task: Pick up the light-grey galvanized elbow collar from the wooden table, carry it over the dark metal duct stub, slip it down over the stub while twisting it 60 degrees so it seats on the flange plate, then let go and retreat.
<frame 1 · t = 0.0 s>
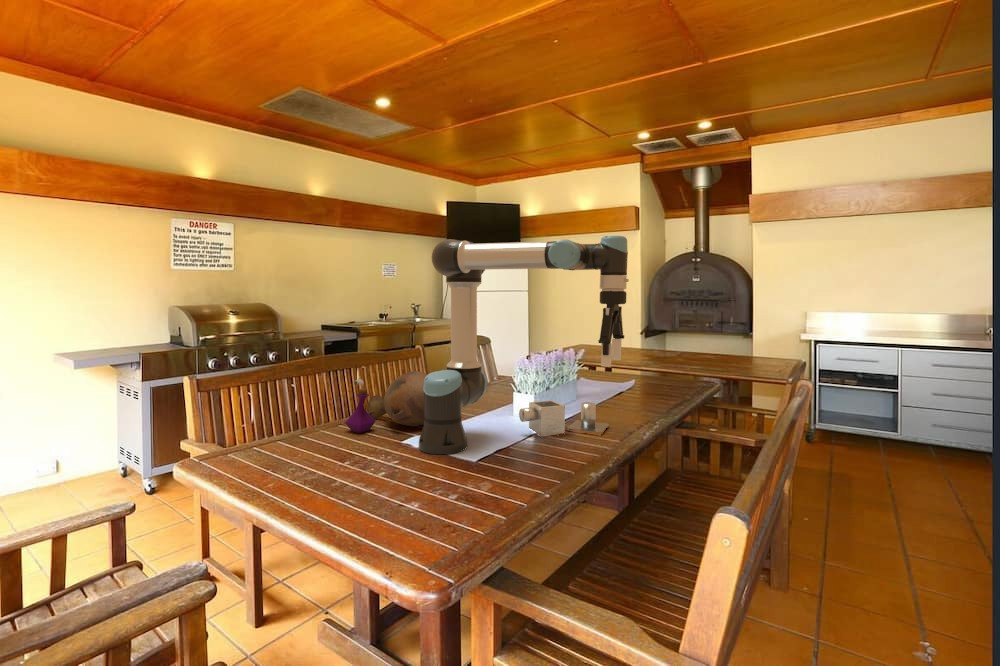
hand: (611, 363, 150), 28 cm above the table, fingers open, 13 cm apart
duct stub: (588, 429, 181), on the table
elbow collar: (546, 432, 177), on the table
perfume bottle: (360, 431, 178), on the table
jug: (402, 423, 189), on the table
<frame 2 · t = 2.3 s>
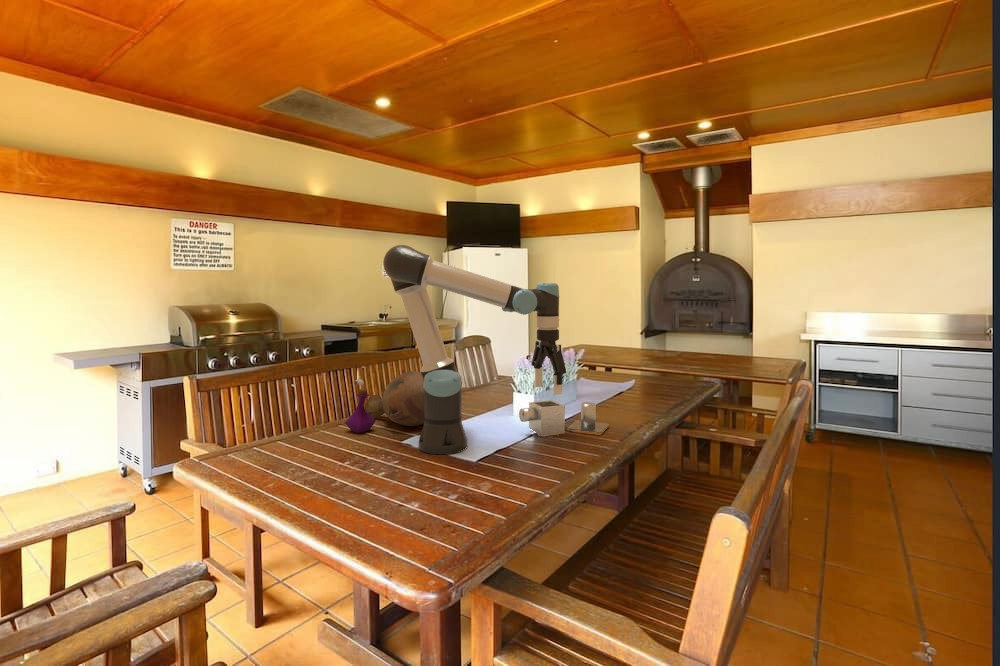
hand: (547, 390, 176), 15 cm above the table, fingers open, 13 cm apart
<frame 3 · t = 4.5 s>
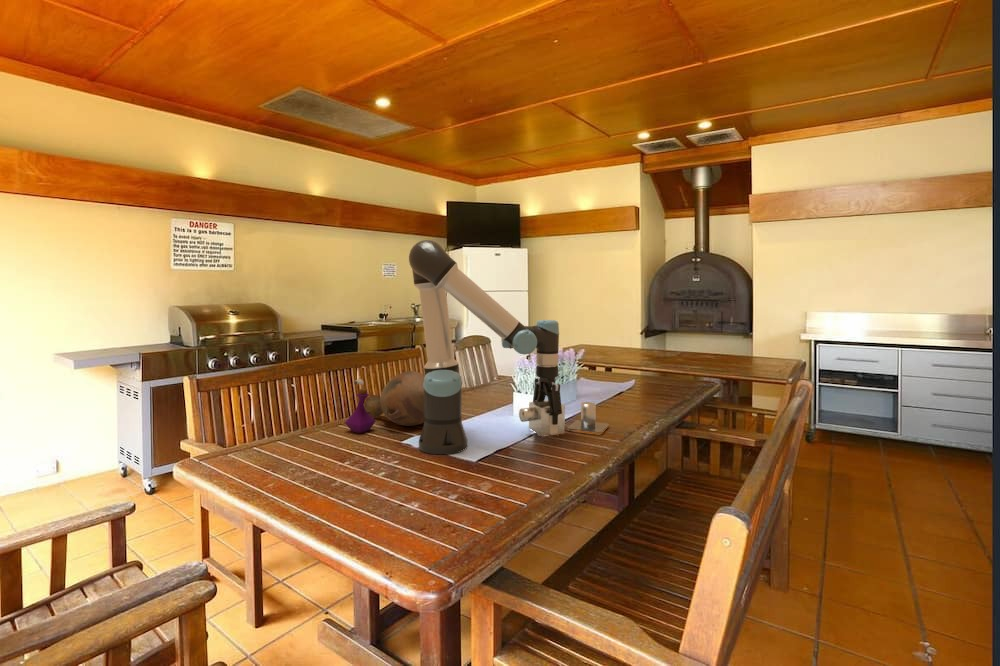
hand: (546, 429, 177), 1 cm above the table, fingers closed on elbow collar, 9 cm apart
elbow collar: (546, 432, 177), on the table, touching gripper
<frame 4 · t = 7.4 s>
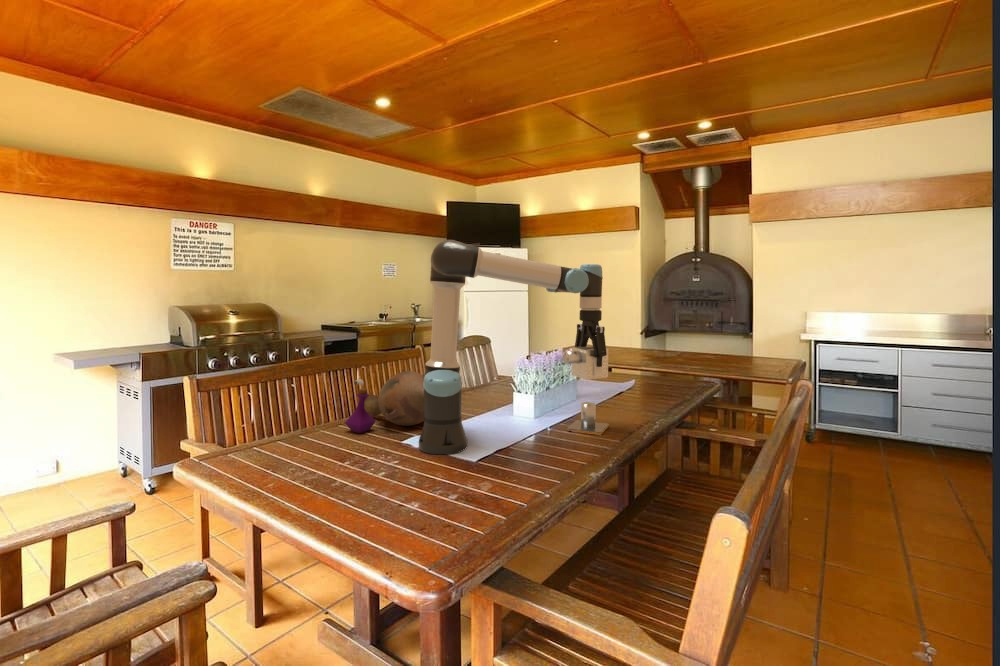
hand: (589, 373, 179), 20 cm above the table, fingers closed on elbow collar, 9 cm apart
elbow collar: (589, 376, 179), point 19 cm above the table, touching gripper
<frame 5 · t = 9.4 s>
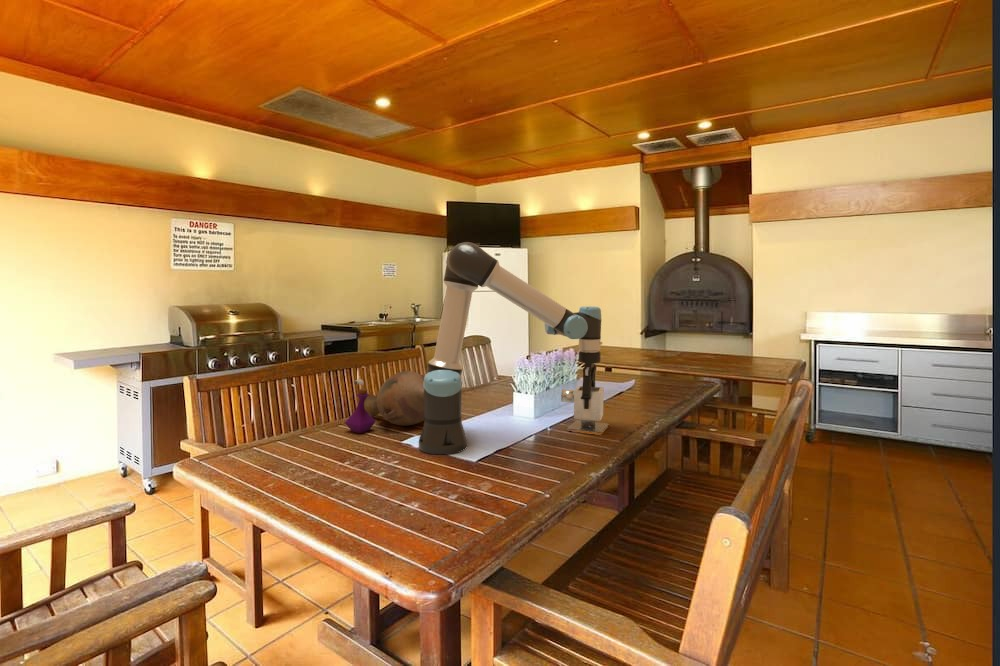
hand: (588, 414, 181), 5 cm above the table, fingers closed on elbow collar, 9 cm apart
elbow collar: (588, 416, 181), point 4 cm above the table, touching gripper
when the fingers open (3 cm above the table, at t = 10.7 s): elbow collar drops 1 cm, resting on duct stub.
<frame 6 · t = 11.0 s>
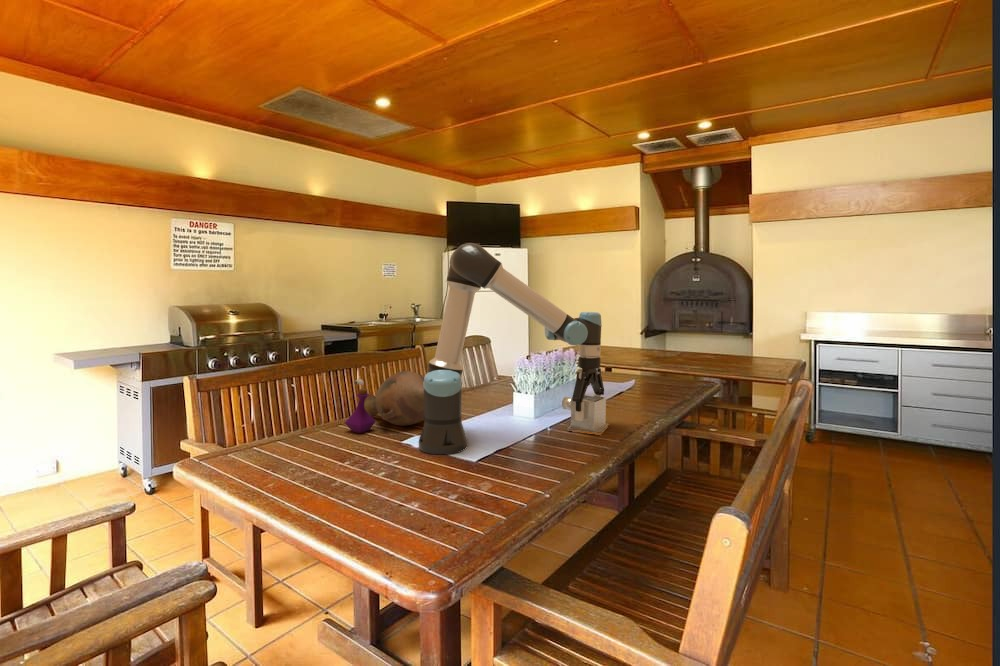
hand: (588, 416, 181), 5 cm above the table, fingers open, 13 cm apart
elbow collar: (588, 426, 181), point 1 cm above the table, touching duct stub
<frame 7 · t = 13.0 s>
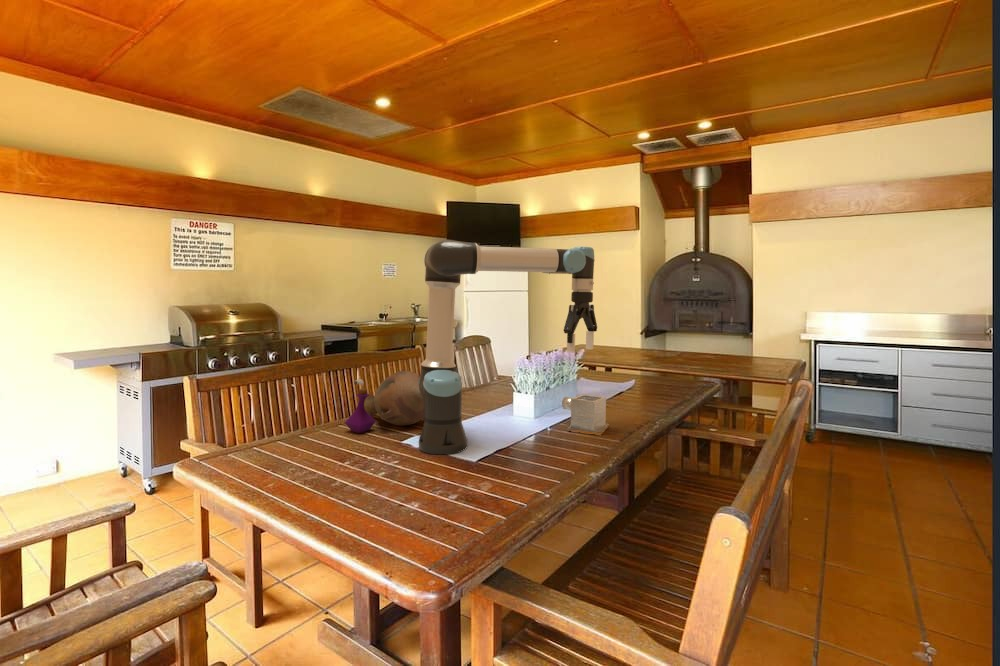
hand: (580, 350, 183), 27 cm above the table, fingers open, 13 cm apart
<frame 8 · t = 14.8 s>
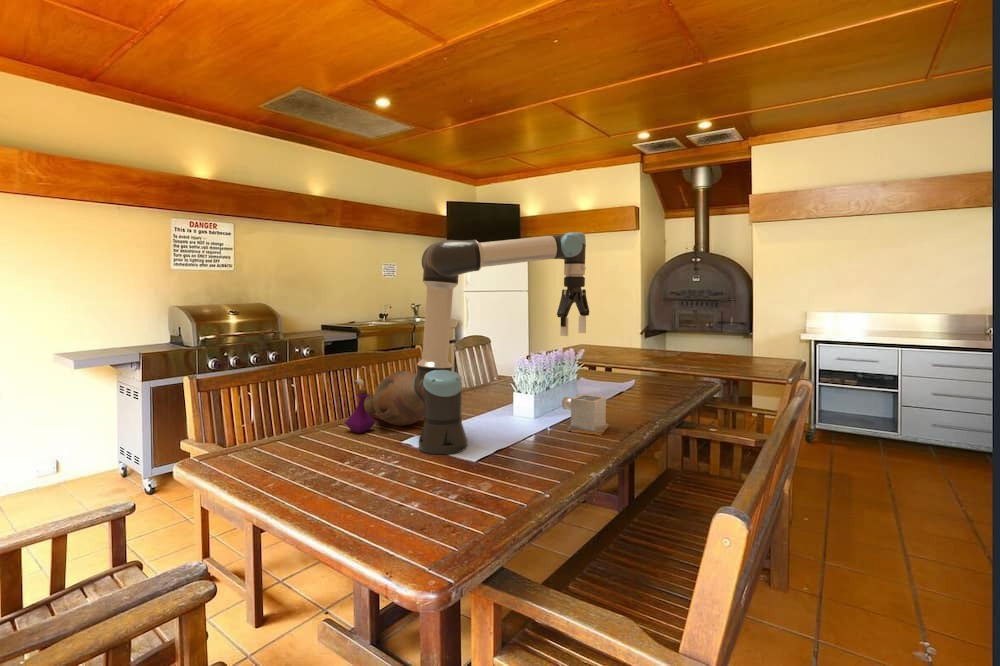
hand: (573, 334, 188), 33 cm above the table, fingers open, 13 cm apart
at the end: elbow collar 0.1 cm from the duct stub (horizontally); elbow collar point 1.2 cm above the table; elbow collar tilted 0° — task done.
